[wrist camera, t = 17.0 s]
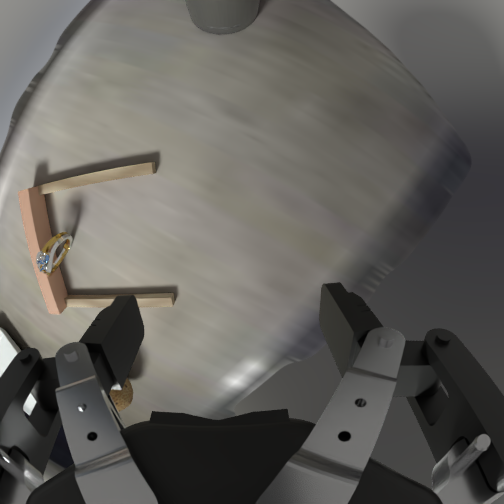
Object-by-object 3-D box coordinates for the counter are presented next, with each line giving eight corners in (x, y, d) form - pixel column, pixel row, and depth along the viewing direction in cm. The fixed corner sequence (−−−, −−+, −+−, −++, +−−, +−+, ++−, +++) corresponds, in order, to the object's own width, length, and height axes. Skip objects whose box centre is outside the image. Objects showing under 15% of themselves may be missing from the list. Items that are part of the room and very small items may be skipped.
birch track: (43, 184, 33) (37, 185, 31) (154, 161, 33) (151, 162, 32) (70, 302, 40) (66, 306, 39) (174, 301, 41) (173, 306, 39)
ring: (70, 222, 35) (40, 238, 28) (84, 235, 36) (56, 253, 29) (55, 255, 37) (27, 274, 29) (68, 267, 38) (42, 289, 30)
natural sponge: (148, 383, 47) (137, 422, 37) (116, 390, 47) (102, 425, 38) (121, 350, 44) (103, 388, 34) (89, 359, 44) (70, 393, 35)
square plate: (-22, 345, 45) (-28, 353, 41) (5, 317, 41) (-4, 325, 38) (37, 412, 53) (32, 420, 50) (79, 402, 50) (74, 413, 46)
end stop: (33, 187, 33) (17, 191, 29) (43, 184, 33) (28, 188, 29) (60, 302, 40) (49, 313, 36) (70, 302, 40) (59, 314, 36)
